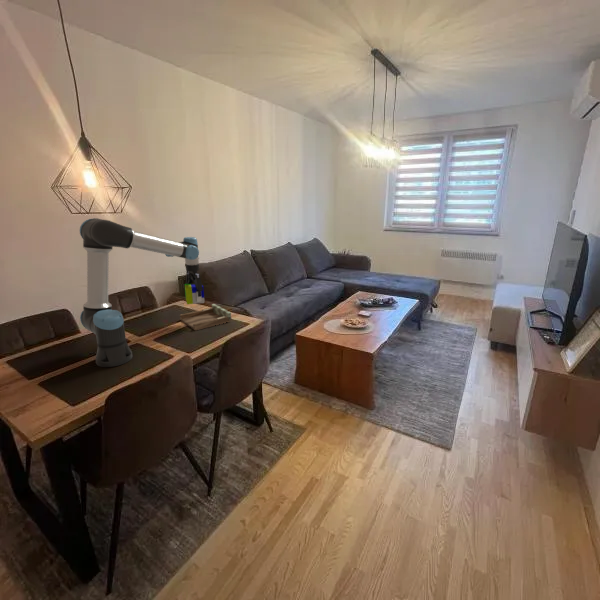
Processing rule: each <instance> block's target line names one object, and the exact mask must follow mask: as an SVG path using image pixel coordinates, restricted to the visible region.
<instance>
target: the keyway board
mask: <svg viewBox="0 0 600 600" xmlns="http://www.w3.org/2000/svg"><path fill="white" fill-rule="evenodd" d="M179 320H180V321H181V322H182V323H184V324H185V325H187V326H188V327H190V328H191V329H192V330H194V331H199V330H203V329H207V328H211V327H216V326H220V325H224V324H227V323H226V322H228V323H231V322H232V312H231V311H228V309H226V308H223V307H222V306H220V305H217V304H215V303H213V304H211V307H208V308H204V309H203V308H202V309H201V310H197V311H191V312H187V313H181V314H179ZM230 321H231V322H230ZM223 323H224V324H223ZM219 324H220V325H219ZM215 325H216V326H215Z"/></svg>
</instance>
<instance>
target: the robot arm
mask: <svg viewBox="0 0 600 600" xmlns="http://www.w3.org/2000/svg"><path fill="white" fill-rule="evenodd" d="M79 234H80V236H81V239H82V242H83V243H82V247H83V249H84V250H86V252H87V253H86V257H87V258H86V259H87V260H86V263H87V264H86V265H87V267H86V270H87V271H86V272H87V273H86V275H87V276H86V277H87V278H86V279H87V280H86V281H87V283H86V285H87V286H86V287H87V288H86V293H87V294H86V297H87V298H86V299H87V300H86V302H85V303H84V304H83V306H82V307H83V309H82V311H81V312H80V316H79V320H80V323H81V325H82V326H83V328H84V329H86V330H88V331H90V333H92V334H94V335H95V336H96V343H97V351H96V355H95V364H96V365H97V367H101V368H113V367H117V366H120V365H125V364H127V363H129V361H132V359H133V351H132V349H131V348H130V346H129V344H128V343H127V337H126V331H125V330H126V329H125V319H124V316H123V314H122V313H121V312H120V310H117V309H113V306H112V303H110V301H109V268H110V267H109V262H110V261H109V258H110V257H109V256H110V255H109V253H110V252H112V251H113V247H114V248H122V249H126V250H127V249H130V248H133V249H139V250H144V251H148V252H152V253H156V254H157V253H158V254H162V255H165V256H166V257H171V258H172V257H177V258H181V259H182V258H183V259H184V262H185V271H186V272H185V273H186V277H185V278H186V279H185V284H191V283H194V284H195V287H196V296H197V302H201V301H202V297H201V291H203V288H202V285H203V283H202V280H201V274H200V273H198V271H200V264H199V262H200V261H199V260H200V257H199V255H200V250H199V247H198V246H199V244H198V239H197V238H196V237H195V236H186V237H184V238H183V241H175V240H171V239H168V238H167V239H166V238H163V237H160V236H155V235H152V234H147V233H143V232H139V231H136V230H134V229H133V228H131V227H128V226H125V225H122V224H119V223H117V222H114V221H111V220H108V219H101V218H95V217H94V218H93V217H92V218H87V219H86V220H84V221H83V222H82V223H81V225H80V227H79Z"/></svg>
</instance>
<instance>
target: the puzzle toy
mask: <svg viewBox="0 0 600 600" xmlns="http://www.w3.org/2000/svg"><path fill="white" fill-rule="evenodd" d="M202 288H203V291H201V297H202V301H201V302H197V296H196V287H195V284H194V282H192V283H191V284H186V283H184V293H185V301H186V305H193V304H194V305H197V304H204V303H205V292H204V291H205V290H204V289H205V288H204V285H203V284H202Z"/></svg>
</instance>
